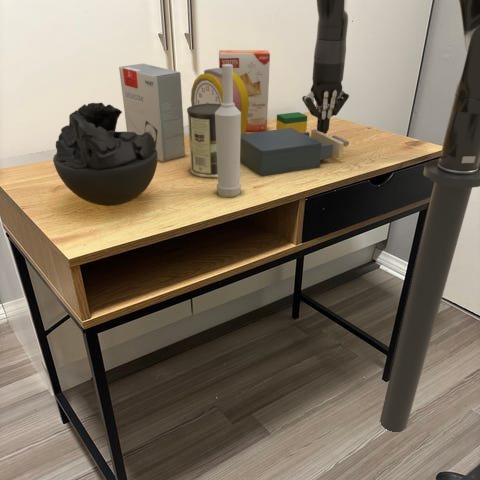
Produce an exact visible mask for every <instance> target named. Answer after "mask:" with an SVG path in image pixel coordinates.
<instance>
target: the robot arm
mask: <svg viewBox="0 0 480 480" xmlns="http://www.w3.org/2000/svg"><path fill="white" fill-rule="evenodd" d="M458 3H459V8H460V16H461V23H462V30H463V31H462V33H463V41H464V42H463V43H464V48H465V52H466V57H465V60H464V64H463V69H462V73H461V75H460V78H459V80H458V81H457V82H456V86H455V91H454V95H453V99H452V104H451V108H450V112H449V117H448V122H447V125H446V130H445V135H444V138H443V139H444V140H443V144H442V147H441V152H440V157H439V159H440V160H439V163H438V168H439V169H440V170H442V171H444V172H447V173H451V174H457V175H470V174H475V173H476V172H477V171H478V170H480V0H458ZM316 9H317V18H318V19H317V27H316V39H315V40H316V41H315V46H314V53H313V67H312V76H311V77H312V86H311V87H310V92H309V93H307V95H303V96H302V98H301V100H302V102H303V103H304V105H305V106H306V109H307V110H308V112H309V113H310V114H311V116H313V117H315V118H317V119H316V120H317V121H316V123H317V124H316V130H318V131H320V132H322V133H324V134H326V135H327V134H328V131H329V130H330V121H331V118H332V117H334V116H337V115H338V114H339V112H340V111H341V109H342V108H343V107H344V105H345V104H346V103H347V101H348V99H349V98H350V94H349V93H347V92H345V91H344V90H343V85H342V82H343V80H344V73H345V63H346V56H347V55H346V54H347V36H348V26H349V15H348V12H347V11H346V10H345V0H316Z"/></svg>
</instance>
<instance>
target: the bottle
mask: <svg viewBox="0 0 480 480" xmlns="http://www.w3.org/2000/svg"><path fill="white" fill-rule="evenodd" d="M222 79H223V103H221V107H220V108H219V109H218V110H217V111H216V112H215V126H216V148H217V169H218V177H217V183H216V191H217V194H218V195H219V196H220V197H222V198H223V197H224V198H234V197H237V196H239V195H240V194H241V189H242V184H241V183H240V179H241V161H240V137H241V112H240V111H239V110H238V109H237V108H236V107H235V104H234V103H233V65H231V64H224V65H222Z"/></svg>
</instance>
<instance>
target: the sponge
mask: <svg viewBox="0 0 480 480" xmlns="http://www.w3.org/2000/svg"><path fill="white" fill-rule="evenodd" d="M307 127H308V115H306V114H303V113H302V112H300V111H296V112H288V113H277V114H276V129H275V130H278V129H286V128H293V129H295V130H297V131H299V132H301V133H305V132H307Z"/></svg>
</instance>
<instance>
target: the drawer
mask: <svg viewBox="0 0 480 480" xmlns="http://www.w3.org/2000/svg"><path fill="white" fill-rule="evenodd" d="M303 134H305V135H307V136H309V137H311V138H313V139H315V140H317V141H319V142H321V143H322V146H321V158H320V161H321V160H327V159H333V158H335V159H337V160H343V159H344V158H343V157H344V147H348V146H349V145H350V142H349V140H347V139H344V138H342V137H340V136H338V135H336V134H333V135H332V136H331V135H328V134H327V133H326V134H324V133H322V132H320V131H318V130H317V128H315V129H314V128H313V129H311V130H310V132H309V131H306V132H305V133H303Z"/></svg>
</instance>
